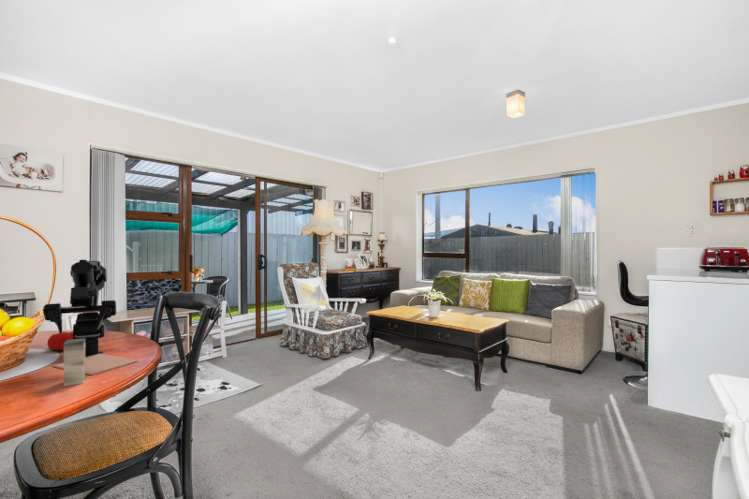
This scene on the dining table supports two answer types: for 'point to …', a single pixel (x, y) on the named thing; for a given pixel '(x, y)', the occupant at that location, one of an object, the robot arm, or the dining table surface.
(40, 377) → the dining table surface
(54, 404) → the dining table surface
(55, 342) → the tomato
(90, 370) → the rubber mat
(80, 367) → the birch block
